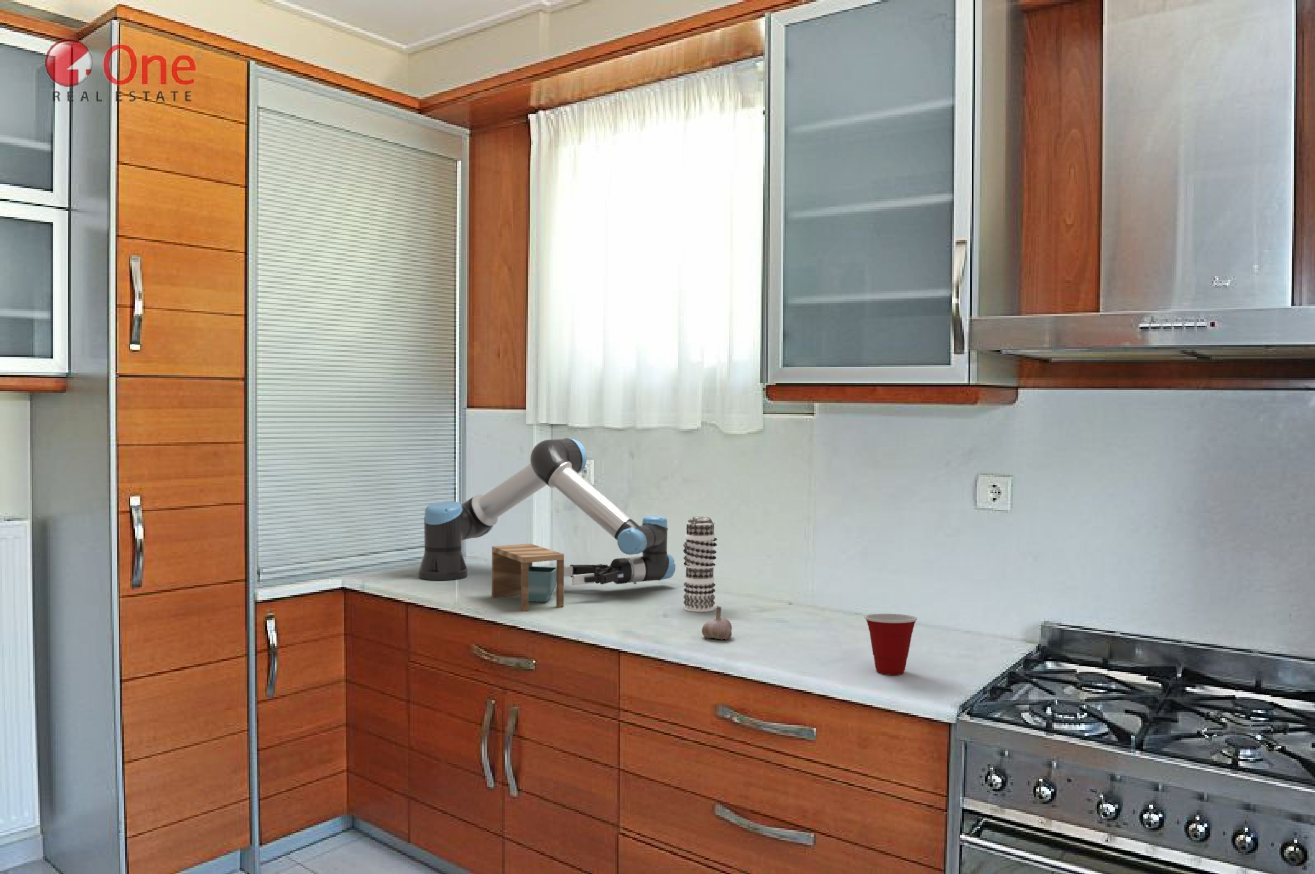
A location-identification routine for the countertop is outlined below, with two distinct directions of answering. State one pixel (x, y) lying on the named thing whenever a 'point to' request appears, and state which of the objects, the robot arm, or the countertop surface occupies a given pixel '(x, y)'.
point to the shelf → (522, 570)
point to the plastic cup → (890, 641)
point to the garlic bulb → (717, 627)
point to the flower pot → (541, 583)
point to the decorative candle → (699, 565)
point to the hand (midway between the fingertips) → (562, 576)
